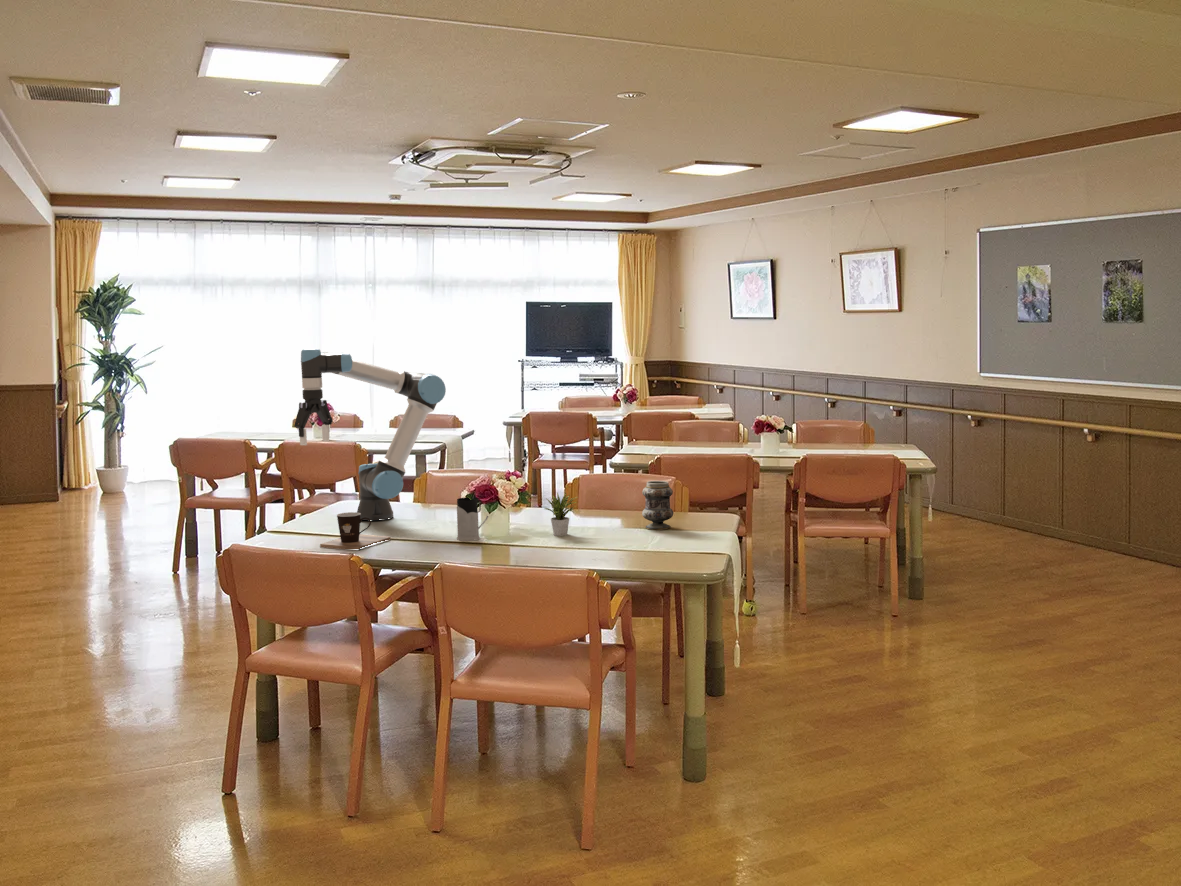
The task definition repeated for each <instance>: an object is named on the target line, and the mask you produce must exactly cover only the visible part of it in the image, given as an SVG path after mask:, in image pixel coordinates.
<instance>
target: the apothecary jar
mask: <svg viewBox="0 0 1181 886" xmlns="http://www.w3.org/2000/svg"><path fill="white" fill-rule="evenodd" d="M673 493H674V492H673V489H672V488H671V487H670V484H669V481H668V480H667V481H666V480H648V481H646V485H645V487H643V489H642V492H641V494H642V496H644V497H645V503H644V505H645V508H644V509H643V510H642V511H641V515H642V517H643V518H644V519H646V520H647V521H650V522H651V523H649V524H647V525H645V529H647V530H650V529H652V530H651V531H663V530H668V529H671V527H672V526H671V525H670V524H667V523H664V522H665V521H668V520H670V519H672V517H673V516H674V511H673V509H672V508H671V496H673Z"/></svg>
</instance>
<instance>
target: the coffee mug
mask: <svg viewBox="0 0 1181 886" xmlns="http://www.w3.org/2000/svg"><path fill="white" fill-rule="evenodd" d="M336 518H337V525H338V530H339V531H338V532H339V536H340V537H339V538H341V542H343V543H353V542H358V541H359V535H360V534H362V533H363V532H364V531H365V532H366V530H368V529H369V527H370V526H371V525H372V524H371V523H372V521H370V519H369V518H366V517H364V518H362V519H360V518H361V513H357V511H356V512H354V511H353V512H352V511H351V512H342V513H338V514H336ZM363 519H367V520H369V521H368V522H369V523H368V525H367V527H366V528H364V529H362V530H361V524H362V522H363V521H362V520H363ZM360 530H361V531H360Z"/></svg>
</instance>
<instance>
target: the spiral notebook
mask: <svg viewBox="0 0 1181 886" xmlns="http://www.w3.org/2000/svg"><path fill="white" fill-rule="evenodd" d="M389 539H391V540H392V538H391V536H386V535H372V534H362V533H360V535H359V541H358V542H353V543H343V542H341V537H339V538H336V539H335V538H334V539H332V540H329V541H325V542H322V543H320V544H319V547H320V548H324V549H325V548H327V549H336V550H345V549H360V548H362V547H365V546H368V545H371V544H373V543H377V542H381V541H385V540H389ZM389 541H390V540H389Z"/></svg>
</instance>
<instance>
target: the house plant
mask: <svg viewBox="0 0 1181 886" xmlns="http://www.w3.org/2000/svg"><path fill="white" fill-rule="evenodd" d="M551 497H552V498H550V500H551V501H550V500H549V499H548V498H546V500H547V501H548V503H549V504H550V505H551V507H552V509H550V508H547V507H546V508H544V510H545V511H546V510H547V511H550V512H552V514H553V517H551V518H550V522H551V527H552V528H551V529H552V532H553V535H554V536H556V537H562V536H563V537H564V536H567V535H568V531H569V525H570V517H568V516H567V514H569V512H572V513H573V514H575V513H574V510H575V509H574V506H572V507H570V508H569V506H570V505H572V504H576V503H577V501H574V500H575V499H577V498H578V496H576V497H573V498H569V497H570V494H568V495H567V492H565V494H564V495H563V497H562V498H560V495H559V492H556V497H555V496H554V495H553V494H551ZM573 501H574V502H573ZM576 507H578V506H576V505H575V508H576Z"/></svg>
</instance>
